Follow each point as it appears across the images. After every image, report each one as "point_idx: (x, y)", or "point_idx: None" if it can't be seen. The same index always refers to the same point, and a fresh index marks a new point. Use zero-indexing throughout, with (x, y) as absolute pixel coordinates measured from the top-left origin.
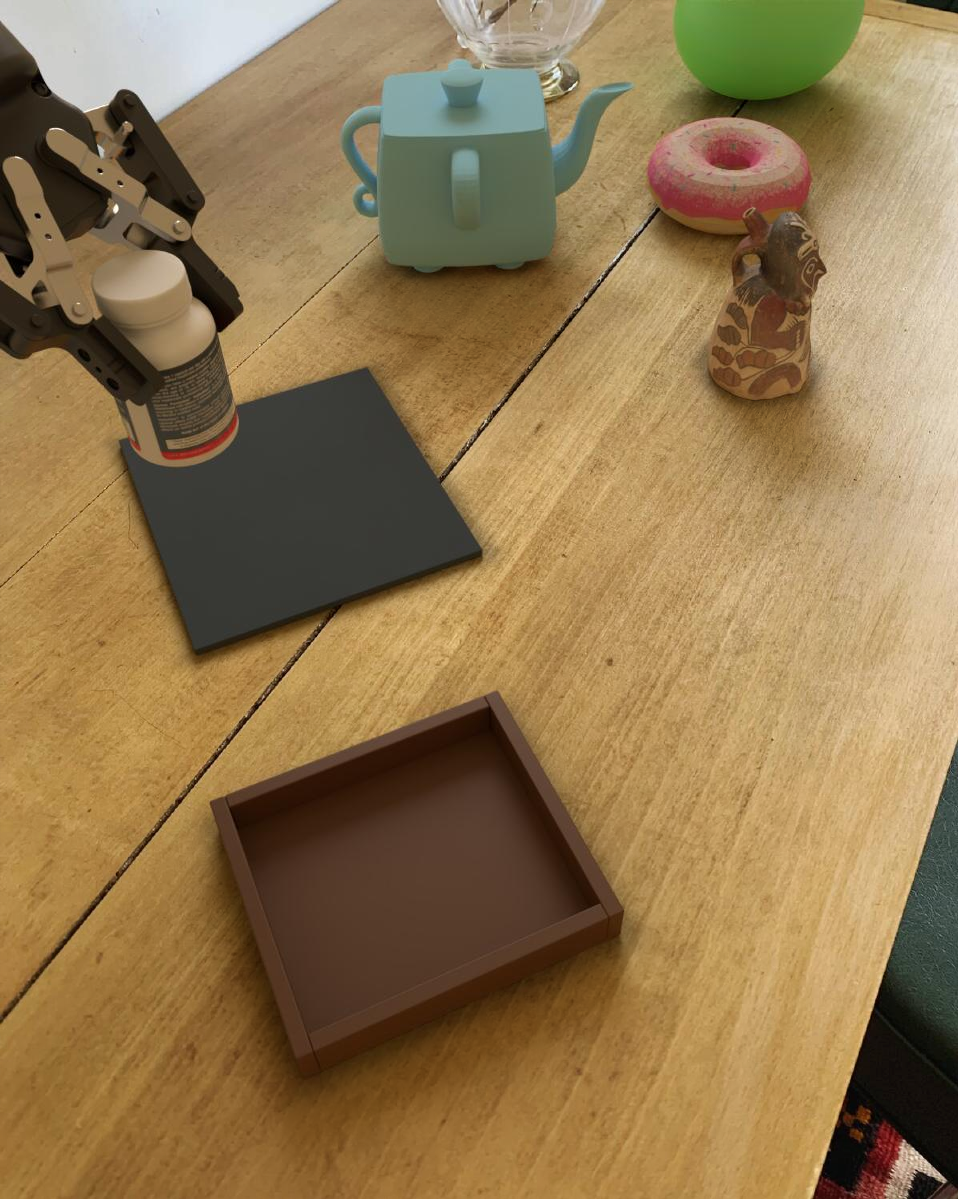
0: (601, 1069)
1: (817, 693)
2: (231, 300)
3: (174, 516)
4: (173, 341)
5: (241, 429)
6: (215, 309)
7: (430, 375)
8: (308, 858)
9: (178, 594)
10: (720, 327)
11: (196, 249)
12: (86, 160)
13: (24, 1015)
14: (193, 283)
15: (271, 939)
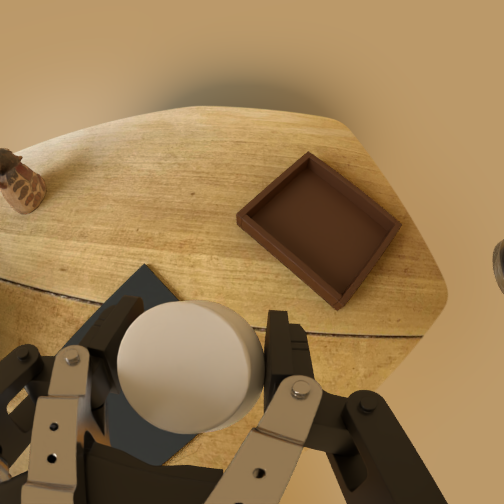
0: (344, 160)
1: (187, 133)
2: (128, 300)
3: (174, 434)
4: (225, 316)
5: None
6: None
7: (39, 336)
8: (334, 266)
9: None
10: (19, 197)
11: (83, 345)
12: (48, 482)
13: (422, 330)
14: None
15: (378, 250)
